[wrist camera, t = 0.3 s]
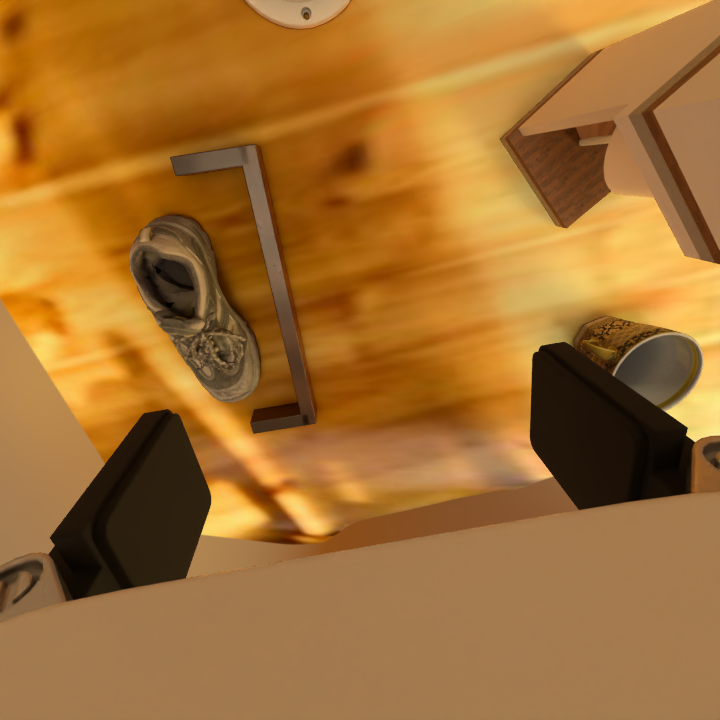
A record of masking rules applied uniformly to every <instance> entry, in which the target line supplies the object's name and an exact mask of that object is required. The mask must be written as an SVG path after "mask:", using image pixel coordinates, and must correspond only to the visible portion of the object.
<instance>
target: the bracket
mask: <svg viewBox="0 0 720 720" xmlns="http://www.w3.org/2000/svg"><path fill="white" fill-rule="evenodd" d="M170 159H171V162H172V166H173V169H174V172H175V175H176V176H188V175H195V174H201V173H208V172H214V171H221V170H228V169H234V168H241V167H243V171H244V175H245V180H246V184H247V188H248V192H249V197H250V201H251V205H252V209H253V213H254V218H255V222H256V226H257V230H258V235H259V239H260V243H261V247H262V252H263V256H264V260H265V264H266V268H267V273H268V277H269V281H270V285H271V290H272V294H273V298H274V302H275V307H276V311H277V315H278V319H279V323H280V328H281V332H282V336H283V340H284V345H285V349H286V353H287V357H288V362H289V366H290V370H291V374H292V378H293V383H294V387H295V391H296V395H297V400H298V403H295V404H289V405H283V406H276V407H270V408H264V409H258V410H254V412H253V416H252V419H251V422H250V424H251V427H252V430H253V433H254V434H255V433H261V432H267V431H273V430H279V429H286V428H292V427H298V426H304V425H310V424H316V421H317V409H316V404H315V400H314V395H313V390H312V386H311V381H310V377H309V372H308V367H307V363H306V358H305V353H304V349H303V344H302V339H301V335H300V330H299V326H298V321H297V316H296V312H295V307H294V302H293V298H292V293H291V288H290V284H289V279H288V275H287V270H286V265H285V261H284V256H283V251H282V247H281V242H280V237H279V233H278V228H277V224H276V219H275V214H274V210H273V205H272V200H271V196H270V191H269V187H268V182H267V177H266V173H265V168H264V163H263V159H262V154H261V149H260V146H258V145H255V144H253V145H246V146H239V147H233V148H226V149H220V150H213V151H207V152H200V153H193V154H187V155H180V156H174V157H170Z"/></svg>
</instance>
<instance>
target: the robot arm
mask: <svg viewBox="0 0 720 720" xmlns="http://www.w3.org/2000/svg"><path fill="white" fill-rule="evenodd" d="M244 1H245V2H246V3H247V4H248V5H249V6H250V7H251V8H253V9H254V10H255V11H256V12H257V13H258V14H259V15H261V16H263V17H264V18H266V19H267V20H269V21H270V22H273V23H275V24H278V25H280V26H283V27H288V28H295V29H304V28H313V27H316V26H318V25H321V24H324V23H326V22H328V21H329V20H331V19H333V18H334V17H336V16H337V15H338V14H339V13H340V12H341V11H342V10H343V9H344V8H345V7H346V6H347V5H348V4H349V2H350V1H351V0H244ZM304 14H308V15H309V19H307V20H306V19H304ZM687 429H688V428H687V427H686V426H684V425H683V424H681V423H680V422H679V421H677V420H676V419H674V418H673V417H672V416H670V415H669V414H667V413H666V412H664V411H663V410H662V409H660V408H659V407H657V406H656V405H654V404H653V403H652V402H650V401H649V400H647V399H646V398H645V397H643V396H642V395H640V394H639V393H637V392H636V391H635V390H633V389H632V388H630V387H629V386H627V385H626V384H625V383H623V382H622V381H620V380H619V379H617V378H616V377H615V376H613V375H612V374H610V373H609V372H608V371H606V370H605V369H603V368H602V367H600V366H599V365H598V364H596V363H595V362H593V361H592V360H590V359H589V358H588V357H586V356H585V355H583V354H582V353H580V352H579V351H578V350H576V349H575V348H573V347H572V346H571V345H569V344H568V343H566V342H560V343H554V344H548V345H542V346H541V347H540V348H539V351H538V352H535V353H534V354H533V359H532V389H531V420H530V441H531V445H532V447H533V449H534V451H535V452H536V454H537V455H538V456H539V458H540V459H541V460H542V462H543V463H544V464H545V465H546V467H547V468H548V469H549V471H550V472H551V473H552V475H553V476H554V477H555V479H556V480H557V481H558V483H559V484H560V485H561V487H562V488H563V489H564V491H565V492H566V493H567V495H568V496H569V497H570V499H571V500H572V501H573V503H574V504H575V505H576V506H577V508H578V509H579V510H577V511H572V512H566V513H560V514H554V515H548V516H542V517H536V518H530V519H524V520H518V521H512V522H506V523H500V524H495V525H488V526H483V527H477V528H471V529H465V530H460V531H455V532H448V533H442V534H437V535H431V536H425V537H420V538H414V539H408V540H402V541H397V542H391V543H385V544H379V545H373V546H368V547H362V548H356V549H350V550H345V551H339V552H333V553H327V554H321V555H316V556H310V557H305V558H298V559H293V560H287V561H281V562H275V563H269V564H264V565H258V566H252V567H247V568H241V569H236V570H230V571H224V572H219V573H213V574H208V575H202V576H196V577H191V578H186V576H187V573H188V570H189V567H190V564H191V561H192V558H193V556H194V552H195V550H196V547H197V544H198V541H199V538H200V535H201V532H202V529H203V526H204V524H205V521H206V518H207V515H208V512H209V509H210V506H211V494H210V490H209V488H208V485H207V483H206V480H205V478H204V475H203V473H202V470H201V468H200V465H199V463H198V460H197V458H196V455H195V453H194V450H193V448H192V445H191V443H190V440H189V438H188V435H187V433H186V430H185V428H184V425H183V423H182V420H181V418H180V416H179V415H178V414H176V413H175V414H173V413H172V412H171V411H170V410H168V409H166V410H161V411H155V412H149V413H144V414H143V415H142V416H141V417H140V419H139V420H138V421H137V423H136V424H135V425H134V427H133V428H132V429H131V431H130V432H129V433H128V435H127V436H126V437H125V439H124V440H123V441H122V443H121V444H120V445H119V447H118V448H117V449H116V451H115V452H114V453H113V455H112V456H111V457H110V459H109V460H108V461H107V463H106V464H105V465H104V467H103V468H102V469H101V471H100V472H99V473H98V474H97V476H96V477H95V478H94V480H93V481H92V483H91V484H90V485H89V487H88V488H87V489H86V491H85V492H84V493H83V494H82V496H81V497H80V498H79V500H78V501H77V502H76V504H75V505H74V506H73V508H72V509H71V510H70V512H69V513H68V514H67V516H66V517H65V518H64V520H63V521H62V522H61V524H60V525H59V526H58V527H57V529H56V530H55V532H54V533H53V534H52V535H51V537H50V539H51V540H52V542H53V543H54V545H55V546H54V548H53V549H52V550H51V552H50V553H49V554H45V553H31V554H27V555H24V556H21V557H18V558H15V559H13V560H11V561H9V562H7V563H5V564H3V565H1V566H0V720H720V436H709V437H705V438H701V439H700V440H698V441H697V442H694V441H693V440H691V439H690V438H689V437H687V436H686V433H687Z"/></svg>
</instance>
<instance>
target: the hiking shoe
mask: <svg viewBox="0 0 720 720" xmlns="http://www.w3.org/2000/svg"><path fill="white" fill-rule="evenodd" d="M215 260H216V257H215V254H214V251H213V250H211V245H210V240H209V238H208V236H207V234H206V233H205V232H202V230H201V227H200V226H199V225H198V223H197V222H195V221H193V220H191V219H188V218H185V217H181V216H175V215H167V216H164V217H160V218H156V219H154V220H153V221H151V222H150V223H149V224H148V225H147V226H146V227H145V228H144V229H141V231H140V232H139V235H138V236H137V237H136V238H135V241H134V242H133V245H132V248H131V250H130V258H129V263H130V270H131V273H132V275H133V278H134V280H135V282H136V284H137V287H138V290H139V292H140V295H141V297H142V299H143V301H144V302H145V304H146V305H147V308H148V309H149V310H150V311H151V312H152V313H153V315H154V317H155V320H156V322H157V323H158V325H159V326H160V327H161V328H162V329H163V330H164V331H165V332H167V333H168V335H169V337H170V339H171V340H172V342H173V343H174V345H175V347H176V348H177V350H178V352H179V354H180V355H181V356H182V357H183V359H184V361H185V362H186V364H187V365H188V366H189V367H190V368H191V369H192V371H193V372H194V374H195V375H196V377H197V378H198V380H199V381H200V383H201V384H202V386H203V387H204V388H205V389H206V390H207V391H208V392H209V393H210V394H211V395H212V396H213V397H214V398H216V399H217V400H219V401H222V402H227V403H231V402H238V401H240V400H243V399H245V398H247V397H248V396H249V395H251V394H252V392H253V391H254V390H255V388H256V386H257V385H258V381H259V377H260V361H259V356H258V355H259V350H258V346H257V344H256V342H255V336H254V334H253V332H252V331H251V330H250V329H249V328H248V327H247V326H246V325H247V322H246V321H245V320H244V318H243V317H242V316H241V315H239V314H238V313H237V312H236V310H235V309H234V308H233V307H232V306H231V305H230V304H228V302H227V301H226V299H225V297H224V295H223V293H222V291H221V288H220V286H219V284H218V279H217V266H216V265H215Z"/></svg>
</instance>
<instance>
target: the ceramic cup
mask: <svg viewBox="0 0 720 720" xmlns="http://www.w3.org/2000/svg"><path fill="white" fill-rule="evenodd" d="M573 342H574V348H575V349H576V350H578V351H579V352H580V353H582V354H583V355H585V356H586V357H588V358H589V359H590V360H592V361H593V362H595V363H596V364H598V365H599V366H600V367H602V368H603V369H605V370H606V371H608V372H609V373H610V374H612V375H613V376H615V377H616V378H617V379H619V380H620V381H622V382H623V383H625V384H626V385H627V386H629V387H630V388H632V389H633V390H635V391H636V392H637V393H639V394H640V395H642V396H643V397H645V398H646V399H647V400H649V401H650V402H652V403H653V404H654V405H656V406H657V407H659V408H660V409H662V410H663V411H664V412H665V411H667V410H669V409H671V408H672V407H674V406H675V405H677V404H678V403H680V402H681V401H682V400H683V399H684V398H685V397H686V396H687V395H688V394H689V393H690V392H691V391H692V389H693V388H694V387H695V385H696V383H697V382H698V380H699V378H700V375H701V373H702V369H703V363H704V358H703V352H702V349H701V347H700V345H699V344H698V343H697V341H696V340H694V339H693V338H692V337H690V336H688V335H686V334H683V333H680V332H677V331H673V330H669V329H665V328H661V327H656V326H651V325H644V324H638V323H634V322H630V321H626V320H622V319H618V318H614V317H609V316H605V317H602V318H600V319H597V320H594V321H592V322H589V323H587V324H585V325H584V326H583V327H582V329H581V330H580V332H579V333H578V335H577V336H576V338H575V339H574V341H573Z"/></svg>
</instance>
